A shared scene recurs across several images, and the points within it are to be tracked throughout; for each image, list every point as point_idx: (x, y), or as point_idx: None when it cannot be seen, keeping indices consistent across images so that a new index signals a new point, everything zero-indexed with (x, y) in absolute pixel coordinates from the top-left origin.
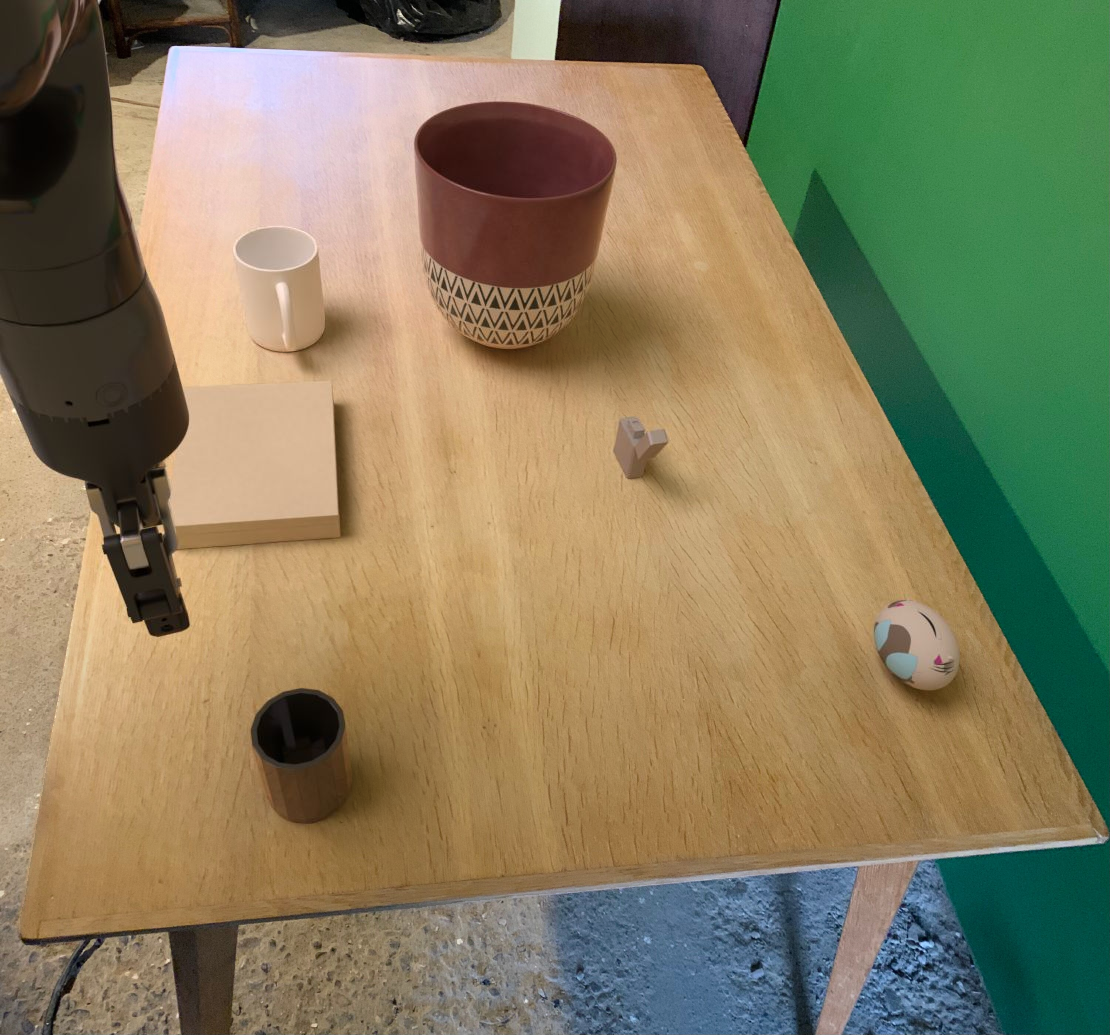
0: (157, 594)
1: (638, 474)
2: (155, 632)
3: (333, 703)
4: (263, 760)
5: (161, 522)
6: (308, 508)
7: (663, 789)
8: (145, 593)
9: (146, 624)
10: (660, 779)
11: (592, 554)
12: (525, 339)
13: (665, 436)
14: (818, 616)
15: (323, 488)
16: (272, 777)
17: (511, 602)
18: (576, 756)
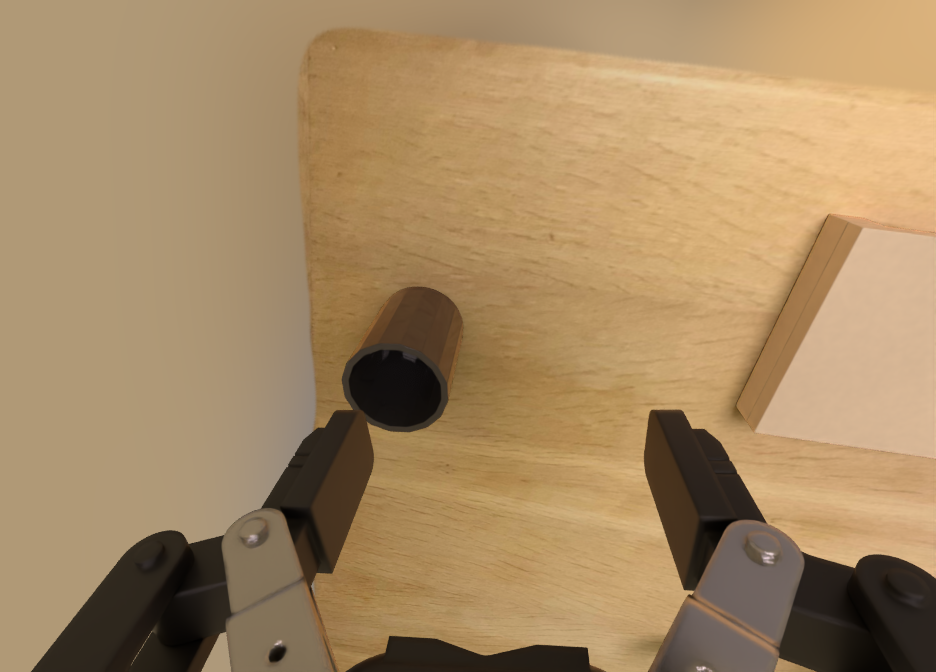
0: (178, 628)
1: None
2: (301, 446)
3: (419, 426)
4: (357, 352)
5: (647, 450)
6: (784, 405)
7: (368, 547)
8: (186, 606)
9: (322, 434)
10: (376, 548)
11: (602, 581)
12: None
13: None
14: None
15: (811, 427)
16: (363, 339)
17: (573, 517)
18: (405, 511)
